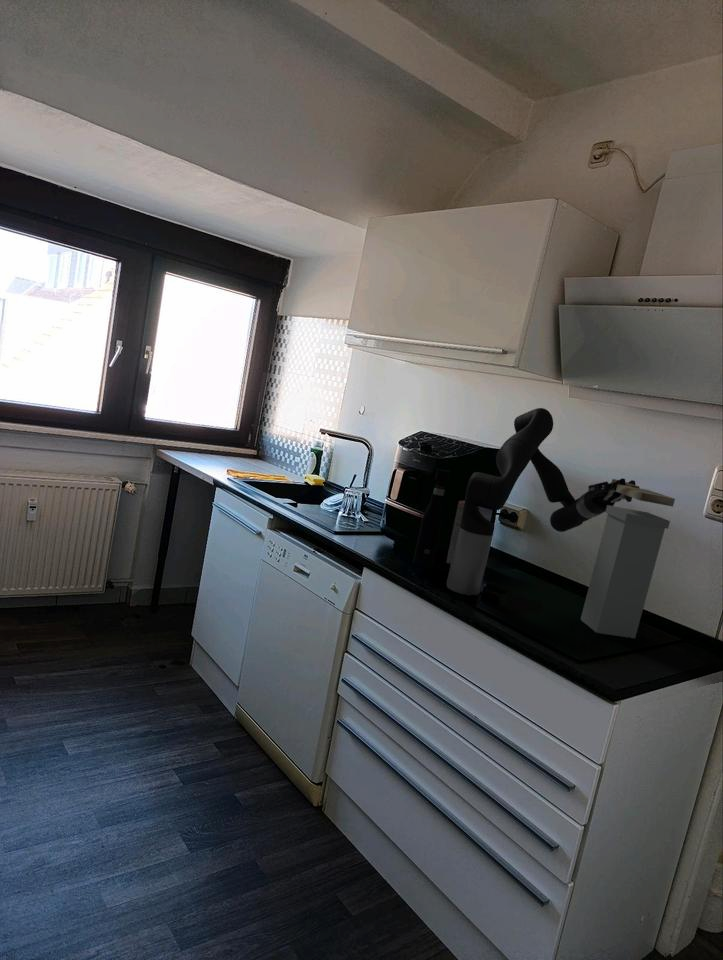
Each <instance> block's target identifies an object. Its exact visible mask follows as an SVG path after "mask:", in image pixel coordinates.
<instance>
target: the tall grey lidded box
mask: <svg viewBox="0 0 723 960" xmlns="http://www.w3.org/2000/svg"><path fill="white" fill-rule="evenodd" d="M605 513H606V515H607V516H606V519H605V524H604V526H603V527H604V528H603V531H602V535H601V538H600V543H599V546H598V550H597V554H596V559H595V563H594V565H593V570H592V574H591V577H590V582H589V585H588V589H587V593H586V596H585V601H584V603H583V604H584V605H583V608H582V613H581V617H580V620H581V622H582V623H584V624H586V625H587V626H588V627H589V628H590V629H591V630H592V631H594V632H595V633H597V634H603V635H607V636H608V635H609V636H617V637H622V638H629V637H630V638H629V639H636V636H637V633H638V629H639V626H640V621H641V618H642V615H643V611H644V607H645V603H646V600H647V595H648V592H649V589H650V585H651V581H652V577H653V574H654V570H655V566H656V564H657V563H656V562H657V559H658V555H659V551H660V548H661V545H662V540H663V536H664V533H665V531H666V530H665V529H667V530H668V529H669V527H670V522H671V521H670V520H668V519H666V518H664V517H661V516H659V515H658V516H657V515H655V514H653V513H650V512H646V511H641V510H636V509H630V508H625V507H620V506H615V505H613V506H609V505H607V508H606V512H605Z"/></svg>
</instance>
